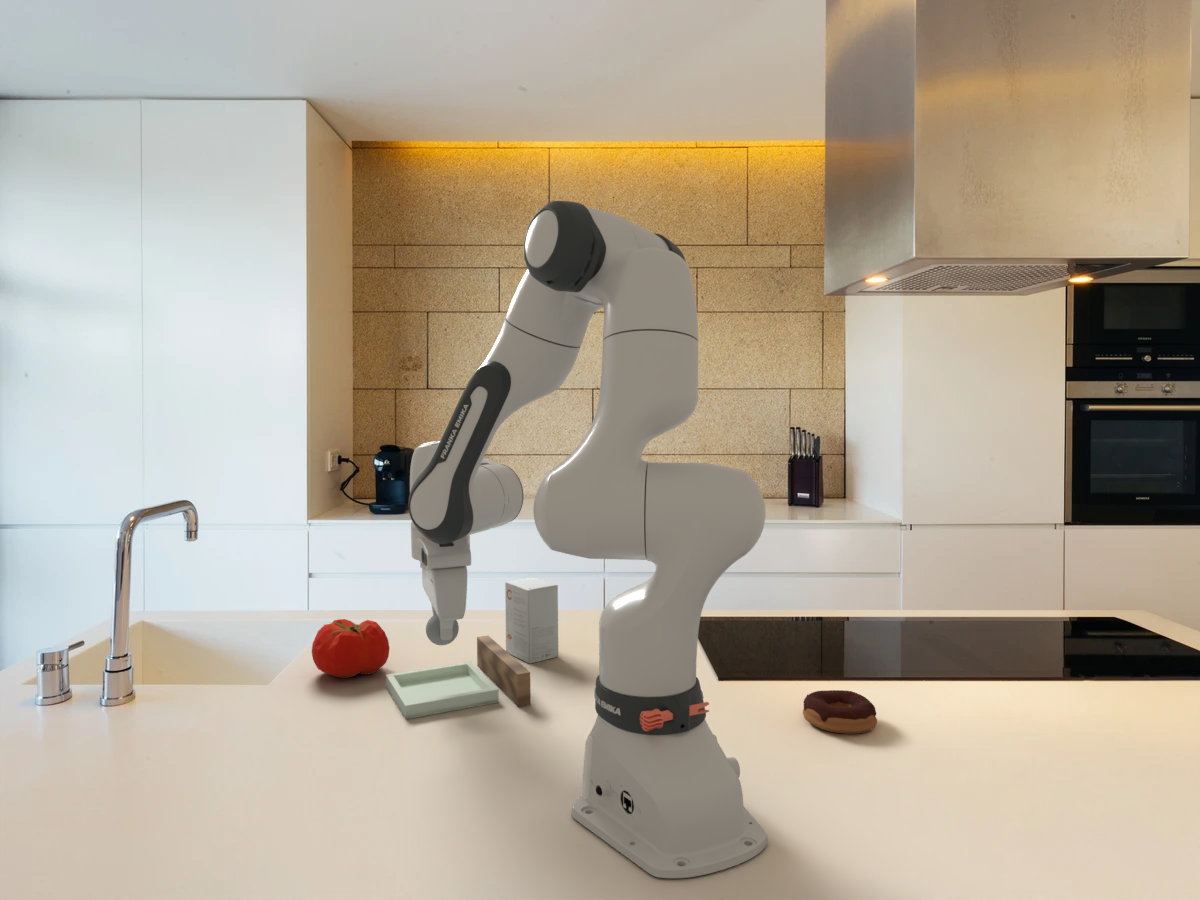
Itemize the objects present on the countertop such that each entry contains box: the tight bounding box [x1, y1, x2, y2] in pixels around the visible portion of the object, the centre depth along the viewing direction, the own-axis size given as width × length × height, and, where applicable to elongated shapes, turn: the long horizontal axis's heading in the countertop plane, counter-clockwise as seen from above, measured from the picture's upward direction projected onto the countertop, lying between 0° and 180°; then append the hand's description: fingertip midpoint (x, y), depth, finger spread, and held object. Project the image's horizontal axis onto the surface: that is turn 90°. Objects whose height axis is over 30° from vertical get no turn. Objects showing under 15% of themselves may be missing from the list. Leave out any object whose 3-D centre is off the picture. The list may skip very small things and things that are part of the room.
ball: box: [425, 614, 460, 646], centre depth 124 cm, size 5×5×5 cm
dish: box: [385, 660, 500, 720], centre depth 124 cm, size 14×14×2 cm
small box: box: [504, 576, 559, 664], centre depth 142 cm, size 8×6×13 cm
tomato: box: [311, 618, 390, 679], centre depth 134 cm, size 13×12×8 cm
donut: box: [802, 689, 878, 735], centre depth 113 cm, size 10×10×4 cm
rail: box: [476, 635, 532, 708], centre depth 129 cm, size 20×2×5 cm, turn 26°
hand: (442, 632), depth 124 cm, fingers closed on ball, 5 cm apart
